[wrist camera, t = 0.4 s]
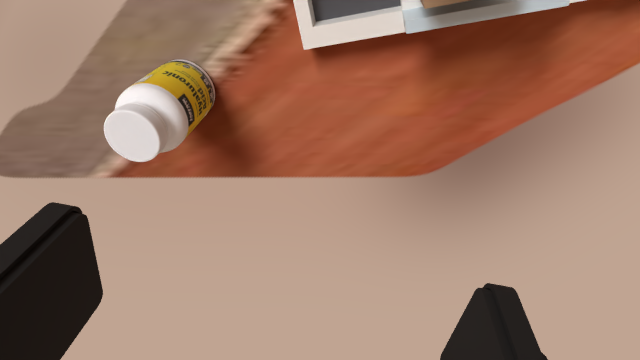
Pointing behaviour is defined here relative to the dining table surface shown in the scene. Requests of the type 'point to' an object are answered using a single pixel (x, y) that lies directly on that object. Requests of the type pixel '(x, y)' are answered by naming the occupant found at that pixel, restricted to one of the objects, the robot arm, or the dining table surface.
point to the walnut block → (438, 2)
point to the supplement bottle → (159, 110)
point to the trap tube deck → (398, 17)
